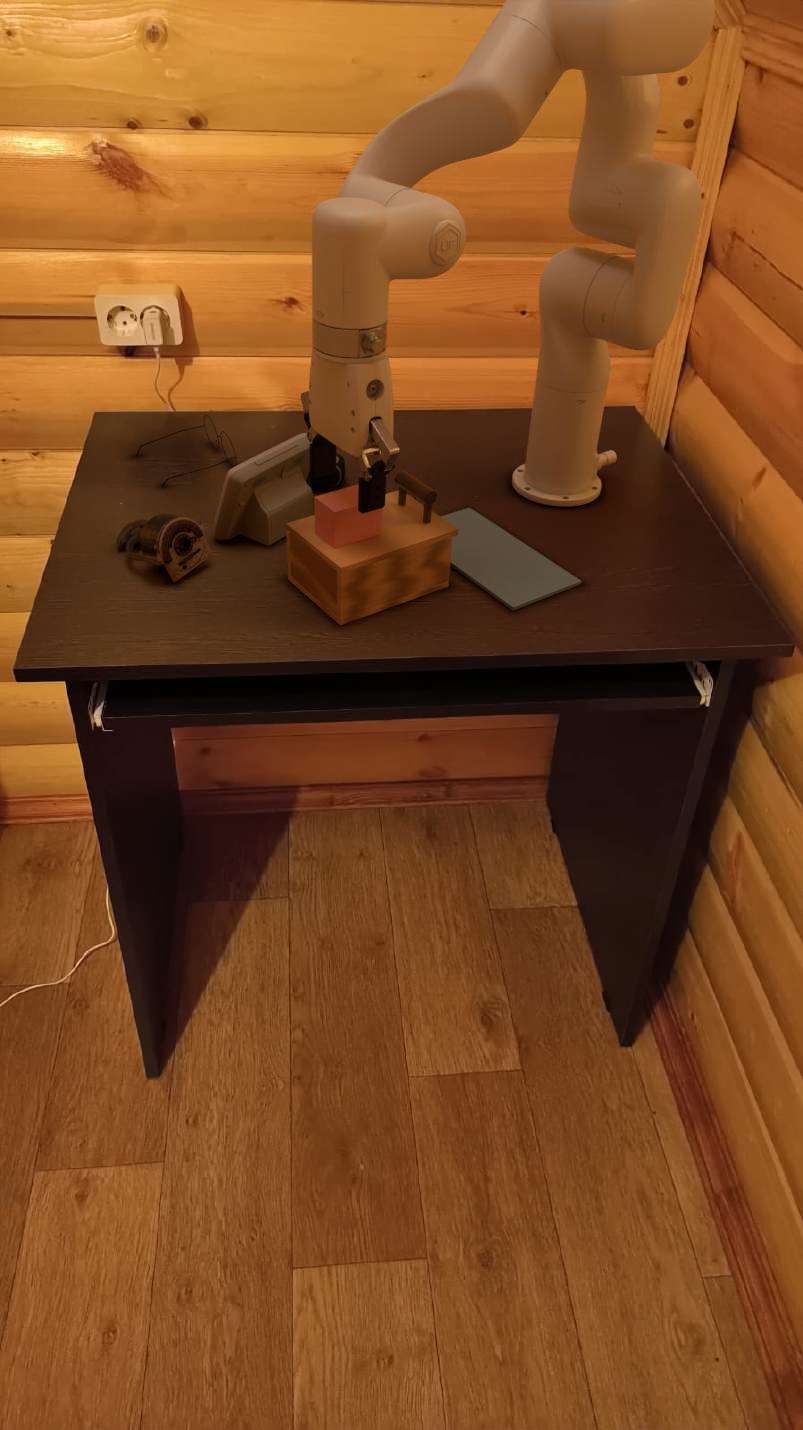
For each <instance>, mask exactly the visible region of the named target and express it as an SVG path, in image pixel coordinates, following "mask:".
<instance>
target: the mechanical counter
mask: <svg viewBox="0 0 803 1430" xmlns="http://www.w3.org/2000/svg"><path fill="white" fill-rule="evenodd" d="M206 531H207V530H206V526H205V525H204V524H203V523H202V522H200V521H196V520H194V519H193V518H189V517H187V516H180V515H174V514H170V513H160V514H159V513H158V514H155V515H154V516H152V517H151V518H150V519H145V518H144V519H143V518H142V519H141V518H139V519H136V520H134V521H130V522H129V523H127V524H126V525H125V526H124V527H123V528H122V529H121V530H120V533H119V534H118V536H117V538H116V544H117V547H118V546H119V547H121V548H124V549H125V552H126V554H127V556H128V557H129V558H130V559H132V560H134V561H138V562H143V563H145V564H149V565H153V566H156V567H161V568H165V570H166V571H167V573H168V575H169V578H170V579H171V581H172V582H173V583H177V582H178V581H180V580H181V579H182V578H183V577H185V576H186V575H187V574H189V573H190V572H192V571H193V570H194V569H195V568H196V567H198V566H200V565H201V564H202V563H203V562H205V561H207V559H208V558H210V557H211V556H212V555H213V552H212V550H211V548H210V545H209V543H208V541H207V539H206V536H205V534H206ZM138 544H140V550H141V553H139V552H136V551H133V549H134V548H135V546H137V545H138Z"/></svg>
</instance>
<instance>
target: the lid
mask: <svg viewBox="0 0 803 1430" xmlns="http://www.w3.org/2000/svg"><path fill="white" fill-rule="evenodd" d="M394 483H395V485H396V486H398V490H395V491H391V492H388V493H386V494H385V506H384V507H383V508H382V529H381V534H380V535H377V536H374V537H371V538H367V539H364V540H361V541H358V542H355V543H352V544H348V545H345V546H342V547H339V548H336V549H334V548H333V547H332V546H330V545H329V544H328V543H327V542H325V541H324V540H323V539H322V538H320V537H319V536H318V535H317V534H315V514H313V516H309V517H306V518H303V519H299V520H296V521H292V522H289V523H286V529H287V530H288V531H289V532H291V533H292V534H293V535H294V536H295V537H297V538H298V539H299V540H300V541H301V542H303V543H304V544H305V545H306V546H308V547H309V548H310V549H311V550H312V551H314V552H315V553H316V554H317V555H318V556H320V557H321V558H322V559H323V560H325V561H326V562H327V563H328V564H329V565H331V566H332V567H333V568H334V569H336V570H337V571H338V572H339V573H340V574H341V573H345V572H348V571H351V570H354V569H357V568H360V567H363V566H366V565H369V564H372V563H375V562H378V561H381V560H384V559H387V558H390V557H393V556H396V555H399V554H402V553H405V552H408V551H411V550H414V549H417V548H420V547H423V546H426V545H429V544H432V543H435V542H438V541H441V540H444V539H447V538H450V537H453V536H456V535H458V528H456V527H455V526H453V525H452V524H450V523H449V522H447V521H446V520H444V519H443V518H441V516H440V515H439V514H437V513H435V511H433V510H432V509H433V505H434V504H435V502H436V501H437V499H438V493H437V492H436V491H435V490H434V489H432V488H431V487H429V486H427V485H426V484H425V483H424V482H422V481H421V480H419V479H417V478H416V477H415V476H412V475H411V474H410V473H409V472H407V471H405V470H400V471H398V472H397V473H396V474H395V477H394ZM412 496H413V497H412ZM417 499H418V500H419V501H420V502H419V501H418V500H417ZM421 502H422V503H421Z"/></svg>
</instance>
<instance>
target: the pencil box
mask: <svg viewBox="0 0 803 1430" xmlns="http://www.w3.org/2000/svg"><path fill="white" fill-rule="evenodd" d="M286 532H287V535H286V560H287V561H286V563H287V580H288V582H290V583H291V584H293V586H295V587H296V588H297V589H298V590H299V591H300V592H302V594H304V595H305V596H306V597H307V598H309V599H310V601H312V602H313V603H314V604H315V605H316V606H318V608H319V609H321V610H322V612H324V613H325V614H327V616H329V617H330V618H331V619H332V620H333V621H335V623H337V625H339V626H343V625H346V624H348V623H351V622H354V621H357V620H361V619H363V618H365V617H368V616H371V615H374V614H376V613H379V612H382V611H385V610H387V609H391V608H393V607H397V606H399V605H402V604H404V603H407V602H409V601H412V600H416V599H418V598H421V597H423V596H427V595H429V594H432V593H435V592H437V591H440V590H443V589H446V588H449V584H450V575H451V565H450V563H451V551H452V539H453V537H450V538H447V539H444V540H441V541H438V542H435V543H432V544H429V545H426V546H423V547H420V548H417V549H414V550H411V551H408V552H405V553H402V554H399V555H396V556H393V557H390V558H387V559H384V560H381V561H378V562H375V563H372V564H369V565H366V566H363V567H360V568H357V569H354V570H351V571H348V572H345V573H341V574H340V573H339V572H338V571H337V570H336V569H334V568H333V567H332V566H331V565H329V564H328V563H327V562H326V561H325V560H323V559H322V558H321V557H320V556H318V555H317V554H316V553H315V552H314V551H312V550H311V549H310V548H309V547H308V546H306V545H305V544H304V543H303V542H301V541H300V540H299V539H298V538H297V537H295V536H294V535H293V534H292V533H291V532H289V531H288V530H286Z"/></svg>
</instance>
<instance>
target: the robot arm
mask: <svg viewBox="0 0 803 1430" xmlns="http://www.w3.org/2000/svg"><path fill="white" fill-rule="evenodd" d="M715 7H716V5H715V0H506V1H505V2H504V4H503V5H502V7H501V8H500V10H499V11H498V12H497V14H496V16H495V17H494V18H493V20H492V21H491V23H490V25H489V27H488V28H487V30H486V31H485V32H484V34H483V36H481V38H480V40H479V41H478V43H477V44H476V46H475V48H474V49H473V50H472V52H471V53H470V55H469V56H468V58H467V59H466V61H465V63H463V65H462V67H461V69H460V70H459V72H458V73H457V74H456V76H455V77H454V78H453V80H451V81H450V82H449V83H447V85H445V86H443V87H441V88H439V89H438V90H436V91H435V92H433V93H430V94H429V95H427V96H426V97H425V98H423V99H421V100H419V102H417V103H416V104H414V105H412V106H411V107H409V109H407V110H406V111H404V112H402V113H401V114H400V115H398V116H397V117H395V118H394V119H392V120H391V121H390V122H389V123H387V124H386V125H385V126H384V127H383V128H382V129H380V131H378V133H377V134H376V135H375V136H374V137H373V138H372V139H371V140H370V142H369V143H368V144H367V146H366V147H365V148H364V150H363V151H362V153H361V154H360V156H359V157H358V159H357V161H356V162H355V163H354V165H353V166H352V168H351V170H350V171H349V173H348V174H347V176H346V178H345V179H344V181H343V183H342V185H341V188H340V189H339V191H338V194H337V197H333V198H329V199H325V200H323V201H320V203H318V204H317V205H316V206H315V208H314V210H313V213H312V217H311V218H312V219H311V322H312V323H311V335H312V336H311V339H312V340H311V357H310V366H309V380H308V390H307V391H304V392H301V393H300V401H301V404H302V409H303V412H304V413H303V420H304V422H305V425H306V427H307V431H306V433H307V439H308V441H309V442H312V443H311V444H310V476H312V477H313V478H317V477H321V476H325V475H329V474H332V473H335V472H336V453H337V447H338V448H339V449H340V450H342V451H343V452H345V453H347V455H348V454H349V455H350V456H351V457H354V458H356V461H357V463H358V466H359V469H360V472H361V475H362V477H359V478H358V484H359V487H358V511H359V512H361V513H362V514H364V513H367V512H371V511H374V510H378V509H381V508H383V507H384V506H385V494H387V493H386V492H387V490H386V489H387V477H389V476H390V475H391V472H392V471H393V470H394V469H395V467H396V462H397V460H398V458H399V456H400V454H401V450H400V446H398V444H397V442H396V441H395V439H394V392H393V391H394V390H393V377H392V369H391V364H390V363H391V362H390V359H389V357H388V356H387V355H386V354H387V340H388V322H389V321H388V318H389V316H388V315H389V296H390V295H389V292H390V291H389V290H390V283H391V282H393V281H395V280H427V279H433V278H437V277H439V276H442V275H443V274H445V273H447V272H448V271H450V269H452V268H453V267H454V266H455V265H456V263H457V262H458V261H459V259H460V258H461V256H462V255H463V251H464V249H465V245H466V241H467V228H466V223H465V220H464V217H463V216H462V215H461V213H460V210H459V209H458V208H456V207H455V205H453V204H452V203H451V202H449V201H448V200H446V199H445V198H442V197H440V196H437V195H434V194H431V193H428V192H424V191H419V190H416V189H414V188H413V187H414V186H416V184H418V183H419V182H420V181H421V180H423V179H424V178H425V177H427V176H428V175H430V174H431V173H433V172H435V171H437V170H439V169H441V168H444V167H446V166H448V165H452V164H455V163H457V162H462V161H466V160H467V161H468V160H470V159H474V158H479V157H483V156H486V155H490V154H493V153H496V152H499V151H502V150H505V149H507V148H510V147H512V146H513V145H515V144H516V143H518V142H519V141H520V139H521V138H522V137H523V135H524V134H525V133H526V131H527V129H528V128H529V126H530V124H531V123H532V122H533V120H534V118H535V117H536V115H537V114H538V112H539V111H540V109H542V106H543V105H544V103H545V101H546V100H547V98H548V97H549V96H550V94H551V93H552V91H553V90H554V88H555V87H556V85H557V84H558V82H559V81H560V79H561V78H562V76H563V75H564V73H566V72H568V71H570V70H576V71H581V75H582V78H583V82H584V87H585V88H584V90H585V106H584V107H585V108H584V115H583V121H582V128H581V133H580V138H579V143H578V148H577V154H576V158H575V163H574V169H573V174H572V179H571V185H570V191H569V197H568V208H567V209H568V210H567V211H568V212H567V213H568V219H569V221H570V224H571V226H572V227H573V228H574V229H575V230H576V231H578V232H579V233H581V234H583V235H586V236H588V237H591V238H593V239H596V240H600V241H604V242H606V243H609V244H610V243H611V244H614V245H618V246H620V247H625V248H627V249H632V250H635V256H634V257H635V258H634V260H631V259H628V258H624V257H622V256H620V255H616V254H612V253H610V252H606V251H602V250H598V249H594V248H589V247H581V246H580V247H579V246H573V247H568V248H565V249H562V250H560V251H558V252H556V253H555V254H554V255H553V256H551V258H550V259H549V260H548V262H546V265H544V266H545V267H544V268H543V271H542V273H541V276H540V280H539V285H538V311H539V312H538V313H539V325H540V328H539V331H540V332H539V333H540V334H539V351H538V359H537V369H536V376H535V384H534V392H533V398H532V407H531V413H530V414H531V415H530V422H529V431H528V437H527V446H526V455H525V462H524V463H523V464H522V465H520V466H518V467H516V469H515V470H513V473H512V475H511V485H512V487H513V489H514V490H515V491H516V493H518V494H519V495H520V496H521V497H523V498H525V499H527V500H529V501H531V502H535V503H538V504H541V505H545V506H550V507H560V508H561V507H562V508H568V507H571V508H572V507H578V506H584V505H587V504H589V503H591V502H593V501H595V500H596V499H597V498H599V496H600V495H601V491H602V484H603V483H602V480H601V478H600V477H599V476H598V475H597V474H598V471H600V470H601V469H602V467H606V466H609V465H612V464H616V462H617V459H618V457H617V453H616V452H615V451H614V450H613V449H610V450H607V451H604V452H600V453H598V450H597V449H598V445H599V440H600V439H599V438H600V432H601V428H602V427H601V426H602V421H603V415H604V410H605V404H606V397H607V392H608V387H609V381H610V376H611V354H610V349H609V346H608V343H610V344H613V345H617V346H619V347H622V348H625V349H628V350H634V351H641V352H642V351H643V352H644V351H648V350H651V349H653V348H655V347H656V346H658V345H659V344H660V343H661V342H662V340H663V339H664V338H665V336H666V335H667V334H668V331H669V330H670V328H671V325H672V324H673V321H674V318H675V315H676V311H677V309H678V305H679V301H680V297H681V294H682V291H683V286H684V284H685V283H684V282H685V278H686V275H687V271H688V267H689V264H690V260H691V257H692V251H693V248H694V244H695V241H696V237H697V233H698V229H699V223H700V220H701V213H702V205H703V204H702V201H703V199H702V189H701V185H700V181H699V179H698V177H697V176H696V174H695V173H694V172H693V171H692V170H691V169H690V168H689V167H686V166H684V165H681V164H679V163H677V162H671V161H667V160H662V159H657V158H654V146H655V140H656V135H657V130H658V126H659V120H660V116H661V108H662V106H661V105H662V99H661V97H662V96H661V90H660V85H659V81H658V77H657V75H659V74H668V73H674V72H679V71H681V70H683V69H686V68H687V67H688V66H690V65H691V64H692V63H693V62H695V60H696V59H697V58H698V57H699V56H700V55H701V53H702V52H703V51H704V49H705V47H706V45H707V44H708V41H709V39H710V37H711V34H712V31H713V27H714V24H715V23H714V22H715V15H716V14H715V13H716V8H715ZM368 444H371V447H367V448H364V447H366V445H368ZM370 456H374V458H375V462H374V463H373V464H372V465H370V462H369V459H368V457H370Z"/></svg>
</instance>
